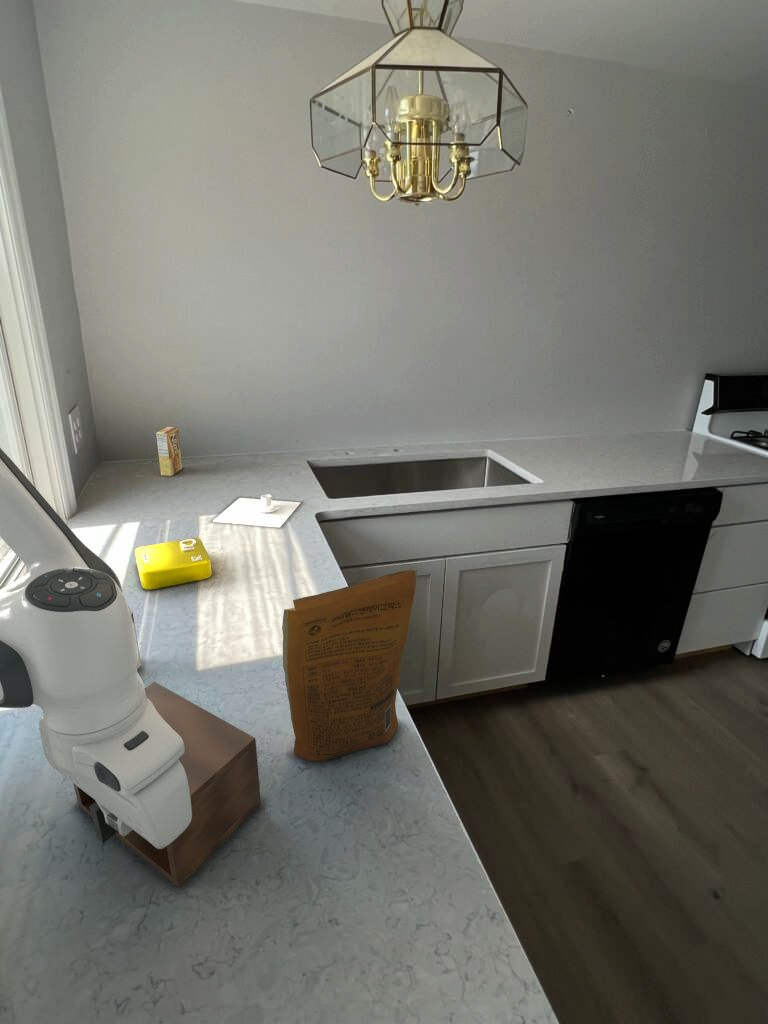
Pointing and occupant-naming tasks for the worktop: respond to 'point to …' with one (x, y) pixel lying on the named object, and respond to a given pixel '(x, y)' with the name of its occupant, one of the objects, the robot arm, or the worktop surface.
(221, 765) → the brown wooden box
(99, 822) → the sliding door
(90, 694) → the robot arm
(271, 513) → the teacup and saucer
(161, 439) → the candy box
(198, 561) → the yellow box
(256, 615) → the worktop surface
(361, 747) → the pancake mix bag
